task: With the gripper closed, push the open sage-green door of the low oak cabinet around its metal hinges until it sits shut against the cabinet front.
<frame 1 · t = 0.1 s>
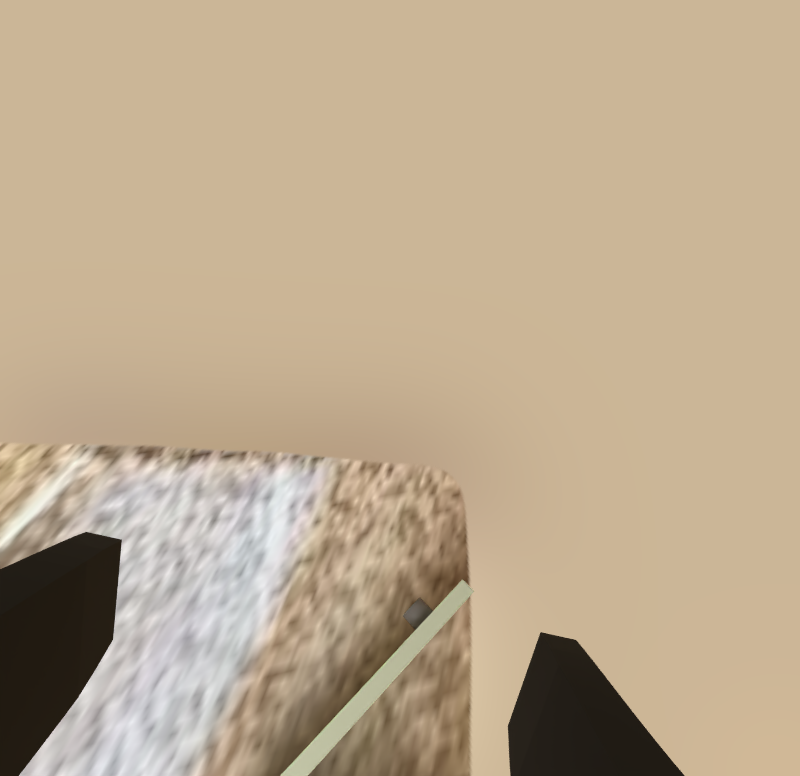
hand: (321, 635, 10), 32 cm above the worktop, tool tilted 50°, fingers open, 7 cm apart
cabinet door: (341, 707, 34), point 3 cm above the worktop, hinge at 55.0°
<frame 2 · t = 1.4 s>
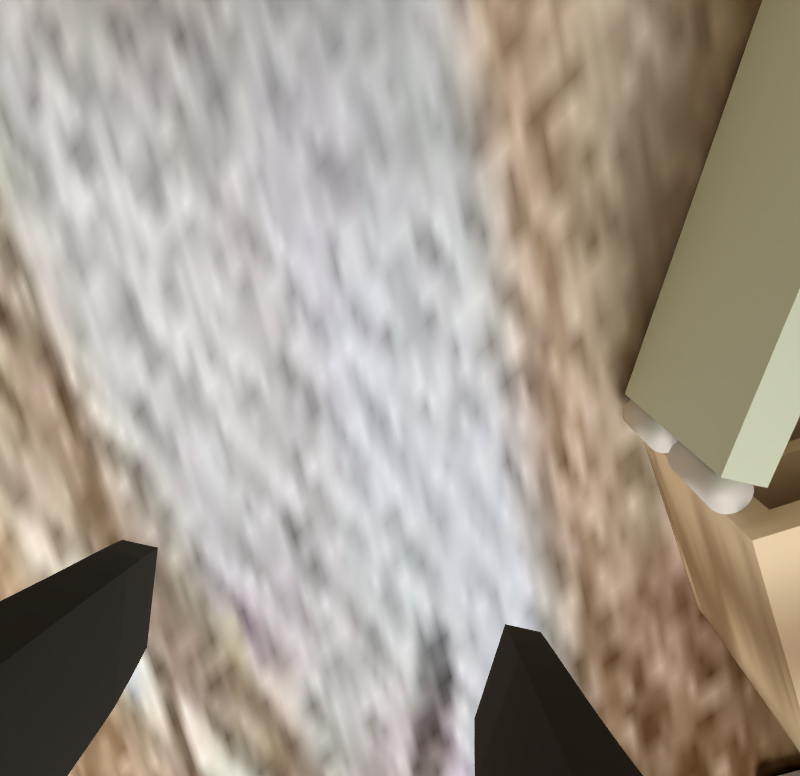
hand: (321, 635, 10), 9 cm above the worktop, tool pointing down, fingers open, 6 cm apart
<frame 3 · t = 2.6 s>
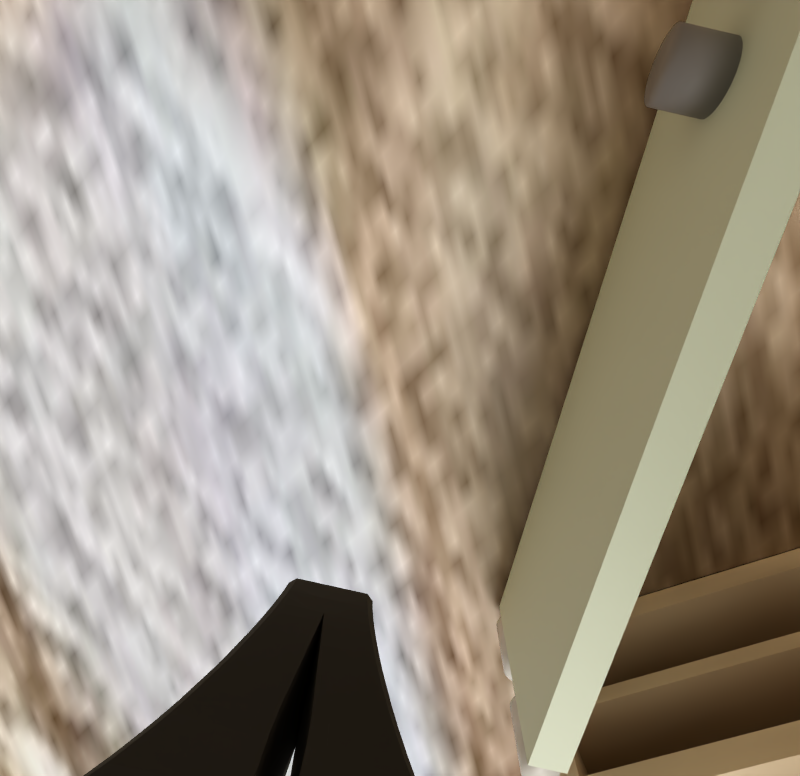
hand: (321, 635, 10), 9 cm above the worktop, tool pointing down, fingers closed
cabinet door: (604, 385, 14), point 3 cm above the worktop, hinge at 55.0°
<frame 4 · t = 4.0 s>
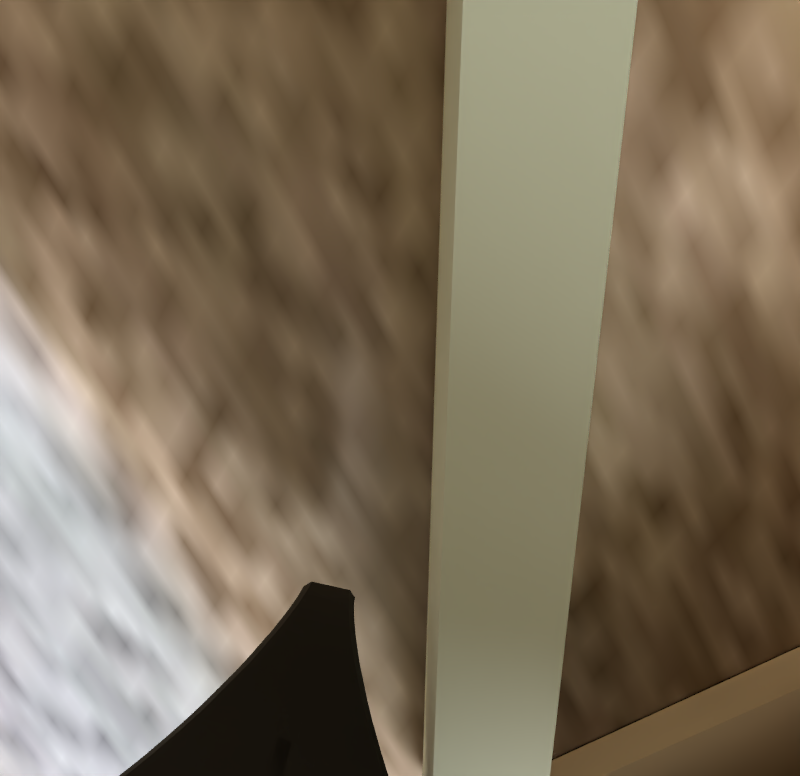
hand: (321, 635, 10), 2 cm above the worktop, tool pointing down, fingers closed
cabinet door: (428, 445, 7), point 3 cm above the worktop, hinge at 54.7°, touching gripper
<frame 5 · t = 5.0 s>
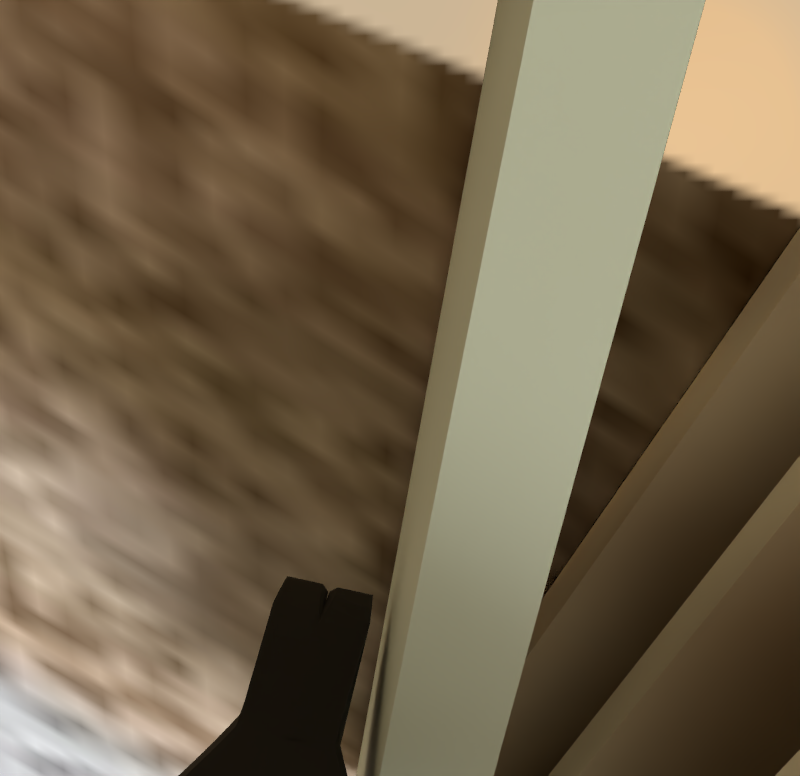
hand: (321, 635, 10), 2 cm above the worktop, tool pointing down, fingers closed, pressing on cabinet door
cabinet door: (415, 452, 7), point 3 cm above the worktop, hinge at 17.6°, touching gripper
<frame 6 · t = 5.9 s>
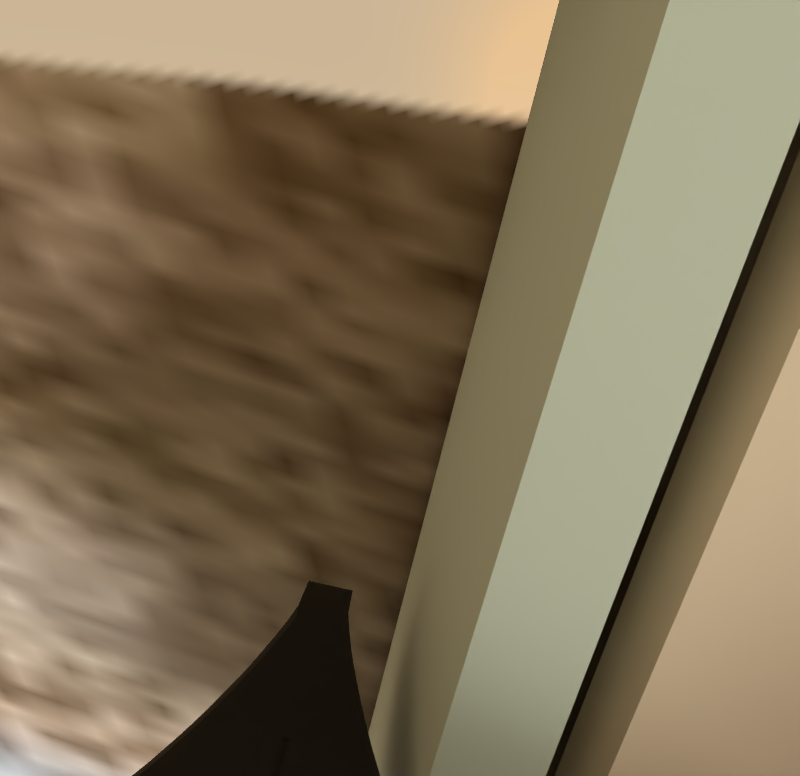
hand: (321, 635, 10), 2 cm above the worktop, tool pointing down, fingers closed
cabinet door: (455, 463, 8), point 3 cm above the worktop, hinge at -0.1°, touching gripper
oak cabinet: (718, 424, 11), on the worktop
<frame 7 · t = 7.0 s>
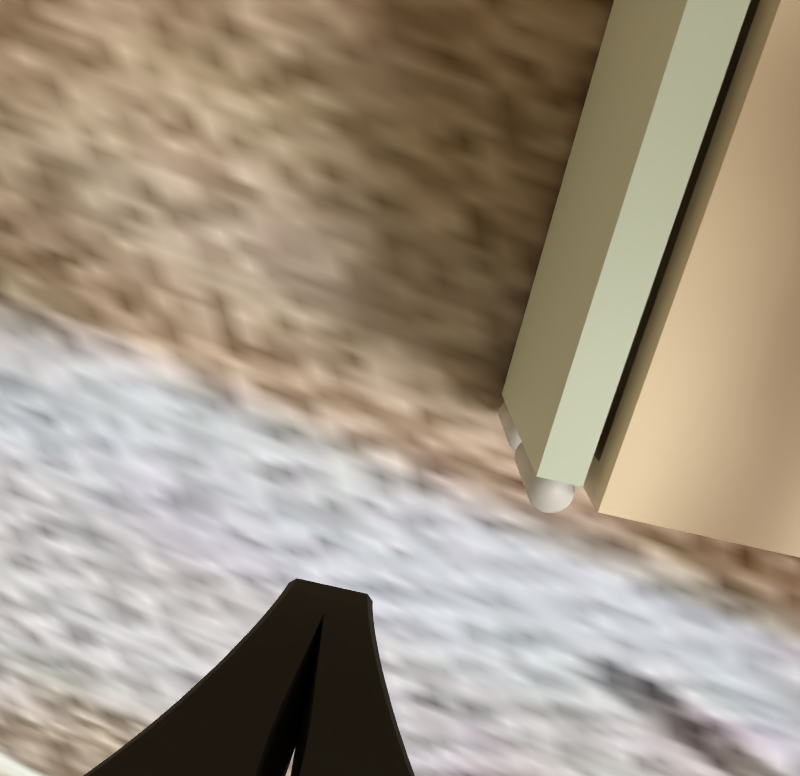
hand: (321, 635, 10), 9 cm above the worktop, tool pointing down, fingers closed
cabinet door: (625, 42, 12), point 3 cm above the worktop, hinge at -0.1°
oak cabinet: (771, 99, 15), on the worktop
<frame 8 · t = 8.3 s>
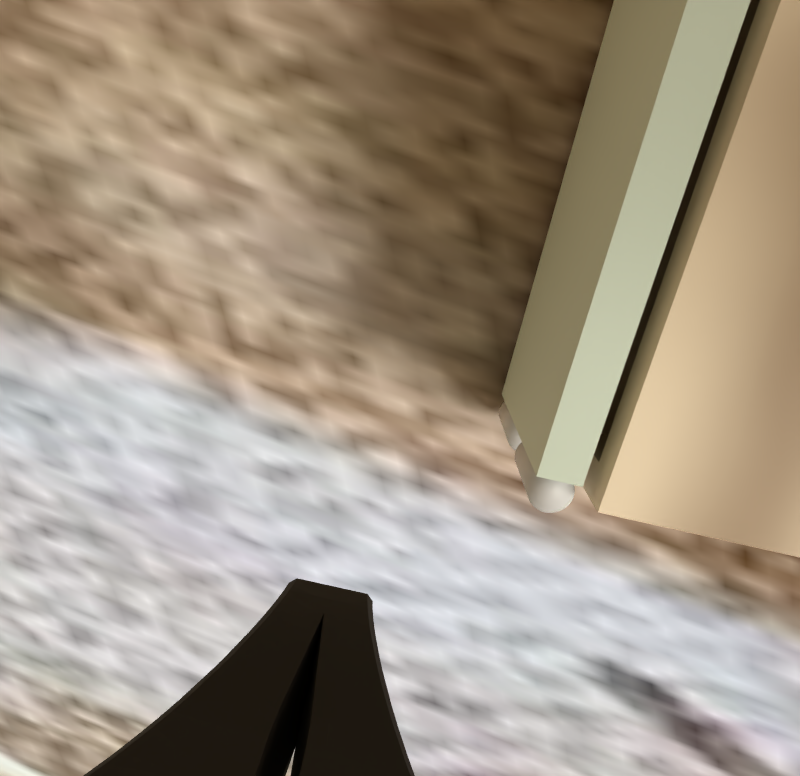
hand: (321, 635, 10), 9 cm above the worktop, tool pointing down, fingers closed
cabinet door: (625, 42, 12), point 3 cm above the worktop, hinge at -0.1°
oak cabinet: (771, 99, 15), on the worktop
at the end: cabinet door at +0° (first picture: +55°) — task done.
